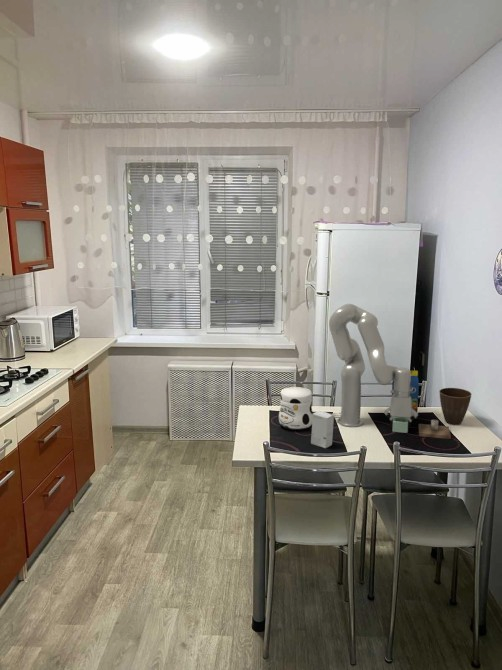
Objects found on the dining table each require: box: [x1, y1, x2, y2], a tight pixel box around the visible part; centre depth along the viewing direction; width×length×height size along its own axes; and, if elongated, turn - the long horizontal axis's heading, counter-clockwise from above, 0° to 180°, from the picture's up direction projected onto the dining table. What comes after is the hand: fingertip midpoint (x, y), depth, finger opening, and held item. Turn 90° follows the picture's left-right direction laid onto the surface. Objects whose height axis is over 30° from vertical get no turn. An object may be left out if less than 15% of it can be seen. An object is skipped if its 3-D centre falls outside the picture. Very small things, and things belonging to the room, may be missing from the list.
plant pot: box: [439, 387, 472, 426], centre depth 257 cm, size 15×15×16 cm
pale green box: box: [392, 417, 409, 434], centre depth 250 cm, size 7×7×5 cm
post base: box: [418, 419, 452, 440], centre depth 246 cm, size 14×12×6 cm
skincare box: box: [310, 410, 335, 449], centre depth 233 cm, size 8×6×15 cm
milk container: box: [278, 386, 314, 431], centre depth 255 cm, size 17×17×18 cm
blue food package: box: [391, 370, 420, 420], centre depth 264 cm, size 6×12×25 cm, turn 88°
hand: (400, 427), depth 250 cm, fingers closed on pale green box, 7 cm apart
